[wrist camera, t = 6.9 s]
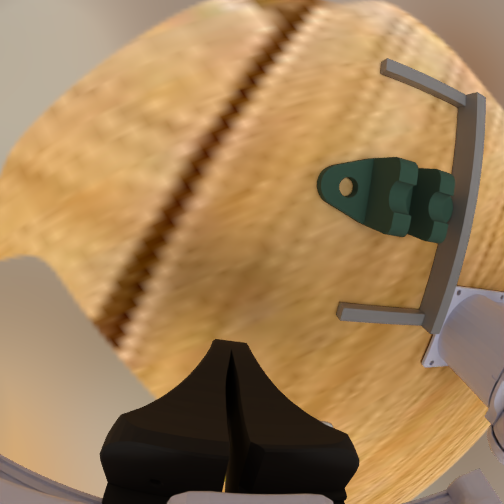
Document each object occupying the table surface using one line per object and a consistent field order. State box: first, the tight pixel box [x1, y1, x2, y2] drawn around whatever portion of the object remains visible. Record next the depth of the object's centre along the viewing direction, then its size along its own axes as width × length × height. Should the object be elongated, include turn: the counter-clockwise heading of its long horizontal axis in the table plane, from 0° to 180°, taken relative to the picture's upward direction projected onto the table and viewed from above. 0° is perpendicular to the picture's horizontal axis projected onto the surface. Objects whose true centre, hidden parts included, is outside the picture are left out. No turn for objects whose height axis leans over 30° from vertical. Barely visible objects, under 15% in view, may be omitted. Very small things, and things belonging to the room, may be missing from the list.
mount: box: [317, 157, 455, 244], centre depth 18 cm, size 11×4×5 cm, turn 83°
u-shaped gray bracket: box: [336, 58, 486, 334], centre depth 19 cm, size 8×19×2 cm, turn 171°
